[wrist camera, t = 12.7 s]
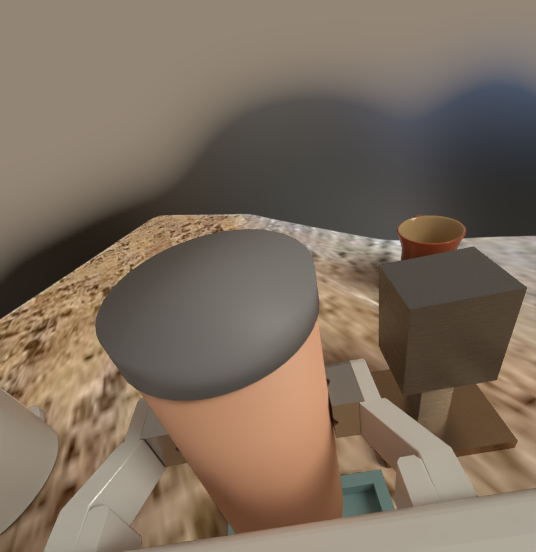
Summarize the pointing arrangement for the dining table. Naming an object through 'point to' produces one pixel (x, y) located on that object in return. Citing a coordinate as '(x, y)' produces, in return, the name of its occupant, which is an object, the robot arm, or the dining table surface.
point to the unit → (447, 344)
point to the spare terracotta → (234, 371)
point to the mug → (429, 236)
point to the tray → (361, 494)
